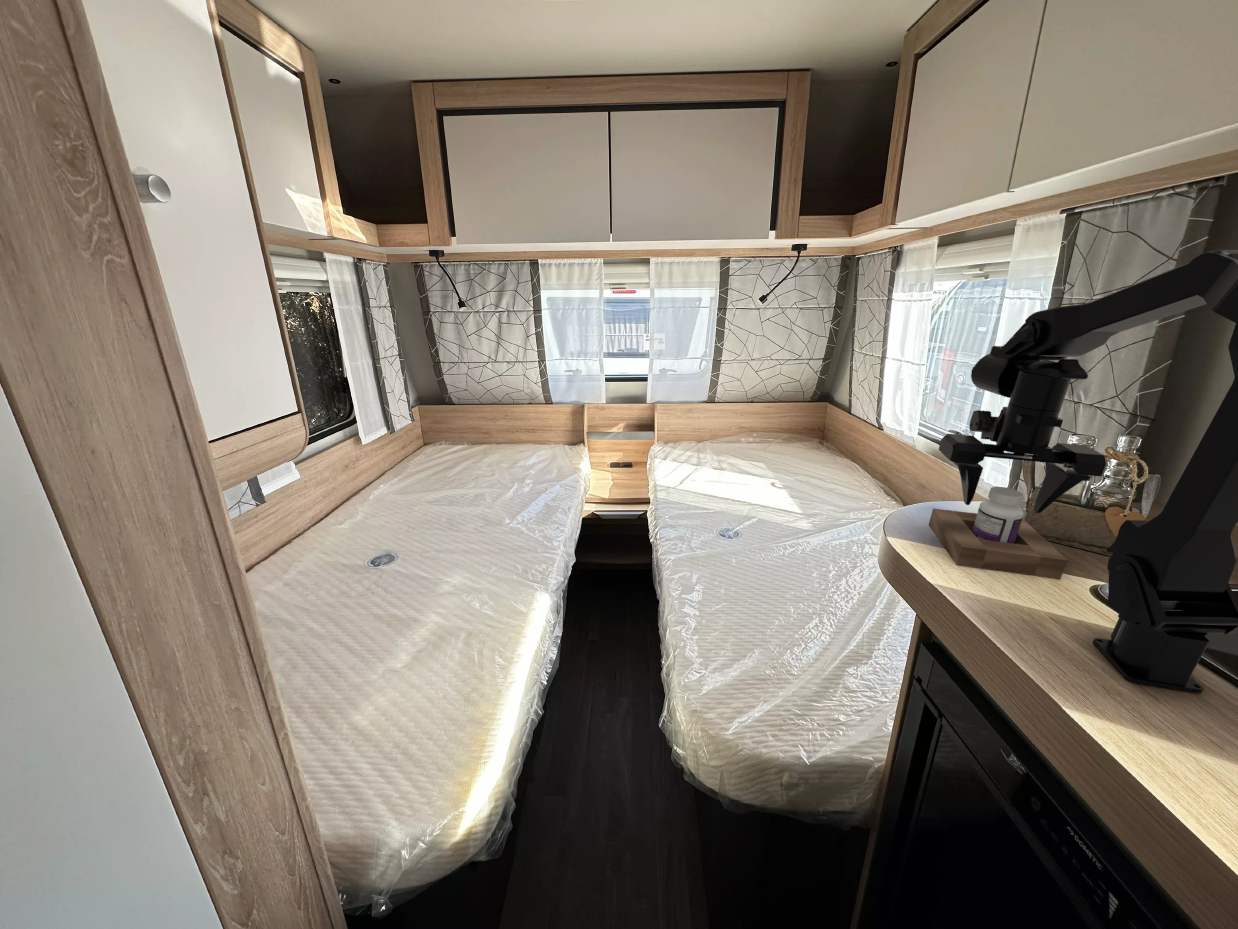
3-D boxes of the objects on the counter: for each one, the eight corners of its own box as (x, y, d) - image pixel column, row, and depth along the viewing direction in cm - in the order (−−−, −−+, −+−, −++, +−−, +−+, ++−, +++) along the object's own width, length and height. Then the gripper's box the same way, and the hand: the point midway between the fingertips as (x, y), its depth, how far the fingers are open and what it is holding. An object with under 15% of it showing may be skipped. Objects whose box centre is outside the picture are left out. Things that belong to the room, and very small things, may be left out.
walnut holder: (1060, 578, 71) (1067, 560, 70) (956, 564, 74) (961, 546, 72) (1016, 535, 82) (1022, 518, 81) (928, 524, 85) (933, 508, 84)
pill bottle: (997, 542, 80) (1015, 485, 77) (1018, 560, 75) (1039, 500, 72) (960, 539, 81) (977, 483, 77) (979, 557, 76) (998, 498, 72)
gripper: (1079, 398, 75) (1045, 494, 81) (940, 388, 79) (916, 480, 85) (1129, 417, 65) (1086, 525, 71) (966, 405, 69) (938, 508, 75)
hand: (1001, 507), depth 76 cm, fingers open, 9 cm apart
